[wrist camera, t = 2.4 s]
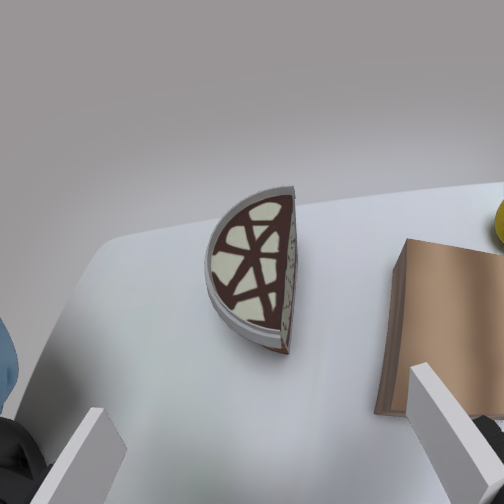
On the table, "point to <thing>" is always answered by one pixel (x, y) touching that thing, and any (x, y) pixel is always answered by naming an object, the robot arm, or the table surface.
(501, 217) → the lemon
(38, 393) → the table surface
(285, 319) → the food container
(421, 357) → the square wooden plinth
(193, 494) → the table surface
